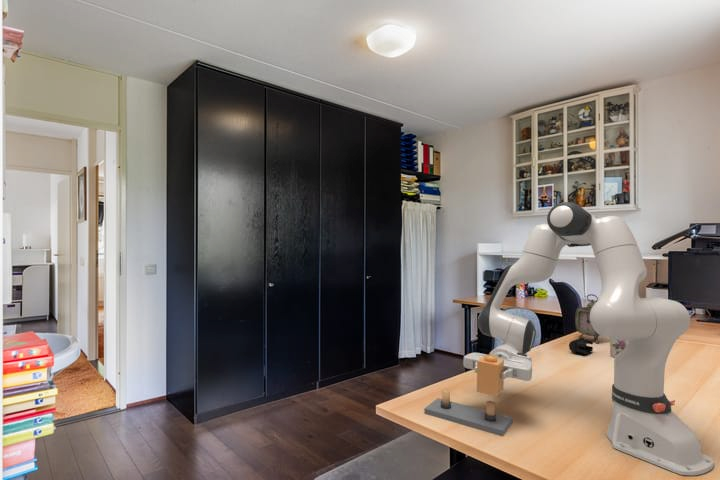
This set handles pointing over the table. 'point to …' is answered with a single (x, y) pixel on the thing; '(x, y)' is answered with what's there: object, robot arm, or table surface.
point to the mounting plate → (469, 414)
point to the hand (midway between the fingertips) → (489, 373)
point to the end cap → (581, 347)
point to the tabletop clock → (585, 320)
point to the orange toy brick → (490, 375)
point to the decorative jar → (617, 346)
